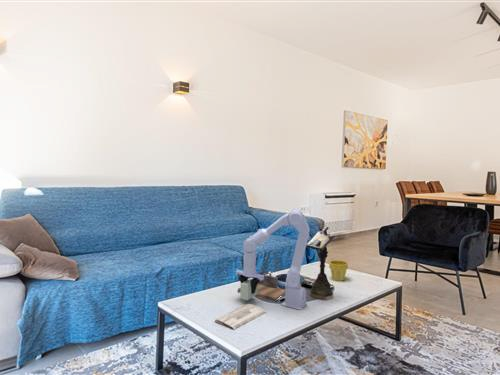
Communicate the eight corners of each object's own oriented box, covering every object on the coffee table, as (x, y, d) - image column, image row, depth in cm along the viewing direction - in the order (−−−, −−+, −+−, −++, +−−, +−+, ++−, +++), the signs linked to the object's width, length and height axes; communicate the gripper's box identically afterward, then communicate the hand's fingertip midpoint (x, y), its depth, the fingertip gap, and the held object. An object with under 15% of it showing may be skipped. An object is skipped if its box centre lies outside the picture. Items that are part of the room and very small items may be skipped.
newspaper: (245, 306, 166) (245, 301, 165) (266, 316, 158) (266, 311, 158) (209, 322, 148) (210, 316, 148) (231, 334, 141) (232, 328, 140)
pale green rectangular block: (257, 294, 173) (257, 279, 172) (247, 300, 165) (247, 285, 165) (250, 292, 175) (250, 278, 175) (240, 298, 167) (240, 283, 167)
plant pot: (325, 277, 208) (325, 260, 207) (341, 275, 211) (341, 259, 210) (334, 282, 198) (335, 265, 198) (350, 281, 201) (351, 264, 201)
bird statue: (316, 305, 167) (319, 230, 164) (297, 296, 178) (299, 226, 175) (340, 298, 176) (343, 227, 174) (321, 289, 187) (324, 223, 184)
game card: (257, 273, 192) (271, 270, 196) (252, 273, 196) (266, 271, 200) (259, 286, 190) (273, 283, 195) (254, 286, 195) (268, 283, 199)
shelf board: (288, 293, 182) (288, 279, 181) (276, 301, 171) (276, 286, 170) (251, 284, 193) (251, 271, 193) (237, 291, 182) (238, 278, 182)
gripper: (267, 264, 169) (266, 292, 170) (241, 259, 176) (241, 286, 177) (259, 268, 163) (259, 297, 164) (233, 262, 170) (232, 290, 171)
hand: (249, 292), depth 170 cm, fingers closed on pale green rectangular block, 4 cm apart
